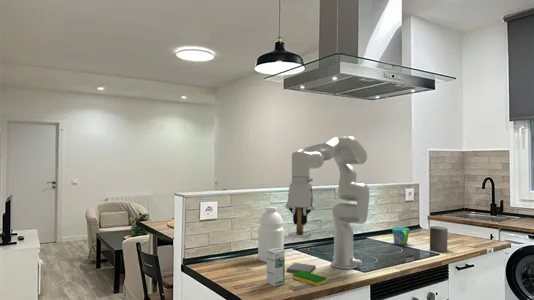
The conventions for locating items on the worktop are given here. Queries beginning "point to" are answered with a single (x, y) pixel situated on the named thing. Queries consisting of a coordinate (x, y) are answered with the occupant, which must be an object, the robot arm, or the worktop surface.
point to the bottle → (270, 232)
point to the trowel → (299, 226)
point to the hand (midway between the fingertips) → (300, 223)
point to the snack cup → (400, 235)
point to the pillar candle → (438, 238)
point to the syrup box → (275, 267)
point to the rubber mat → (301, 268)
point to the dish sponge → (309, 278)
